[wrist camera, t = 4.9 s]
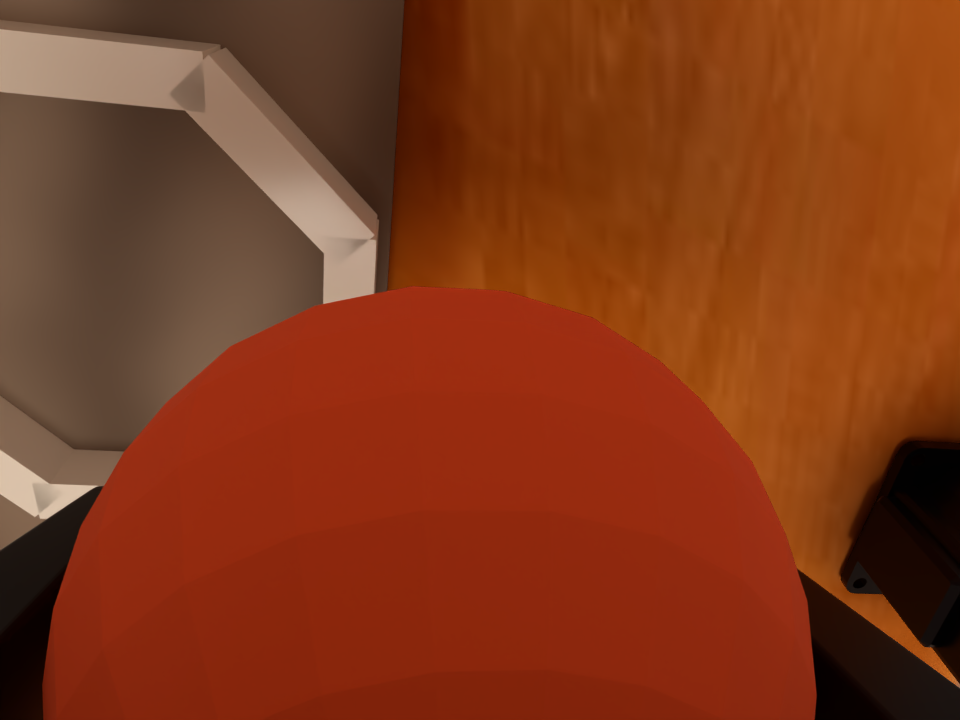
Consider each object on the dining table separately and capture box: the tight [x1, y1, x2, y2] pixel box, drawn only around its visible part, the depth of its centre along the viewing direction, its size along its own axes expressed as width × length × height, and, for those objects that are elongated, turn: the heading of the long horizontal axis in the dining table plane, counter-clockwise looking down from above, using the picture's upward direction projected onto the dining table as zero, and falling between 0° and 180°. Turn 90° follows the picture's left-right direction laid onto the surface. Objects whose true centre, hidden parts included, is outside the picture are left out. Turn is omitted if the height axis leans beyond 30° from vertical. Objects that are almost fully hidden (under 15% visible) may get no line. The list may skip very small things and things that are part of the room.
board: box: [0, 0, 404, 550], centre depth 19 cm, size 13×22×1 cm, turn 173°
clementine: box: [42, 286, 817, 720], centre depth 7 cm, size 8×7×7 cm
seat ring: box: [0, 20, 379, 519], centre depth 18 cm, size 12×12×2 cm
